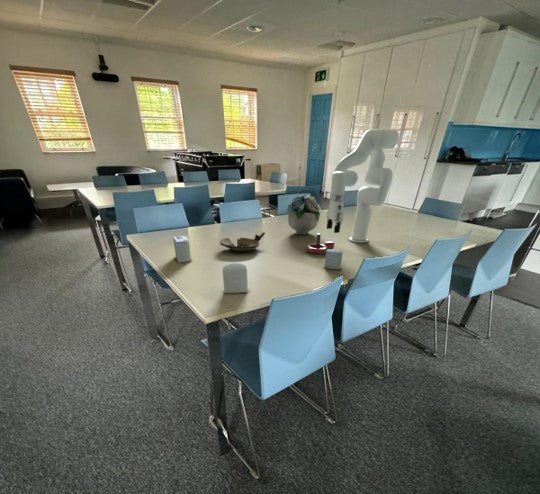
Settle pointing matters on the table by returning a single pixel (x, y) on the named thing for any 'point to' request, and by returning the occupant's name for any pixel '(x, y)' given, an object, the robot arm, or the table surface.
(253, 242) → the oil lamp
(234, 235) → the table surface
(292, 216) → the flower arrangement
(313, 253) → the post
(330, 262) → the medicine box
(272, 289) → the table surface
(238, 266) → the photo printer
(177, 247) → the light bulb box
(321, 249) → the ring
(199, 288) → the table surface
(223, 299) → the table surface
